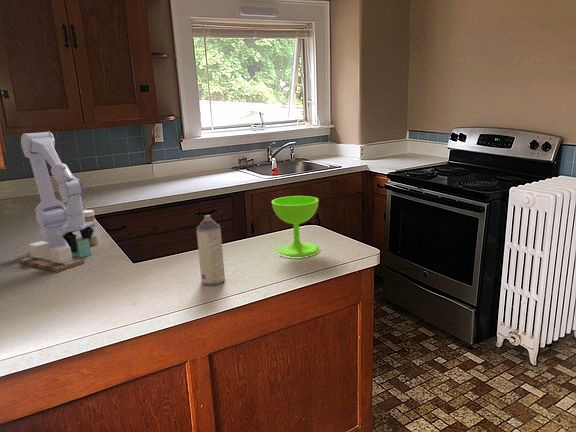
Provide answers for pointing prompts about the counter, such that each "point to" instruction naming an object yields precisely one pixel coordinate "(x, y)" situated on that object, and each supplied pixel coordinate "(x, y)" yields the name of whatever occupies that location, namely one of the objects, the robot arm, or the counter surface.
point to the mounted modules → (50, 251)
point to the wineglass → (296, 222)
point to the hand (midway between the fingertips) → (80, 250)
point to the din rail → (48, 258)
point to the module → (82, 248)
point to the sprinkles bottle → (90, 217)
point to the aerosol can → (210, 252)
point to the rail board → (50, 264)
